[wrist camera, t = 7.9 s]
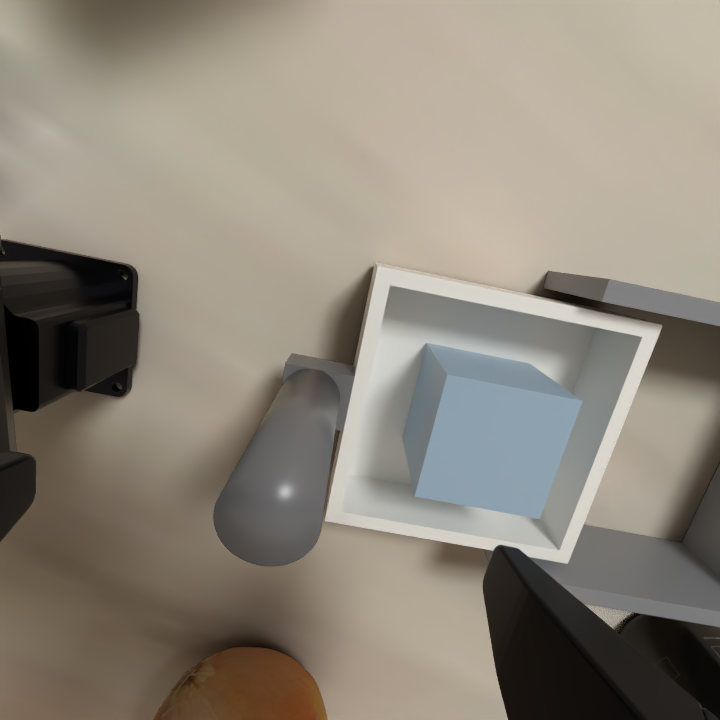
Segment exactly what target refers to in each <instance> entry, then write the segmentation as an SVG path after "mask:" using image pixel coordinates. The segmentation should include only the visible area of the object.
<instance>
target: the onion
mask: <svg viewBox="0 0 720 720" xmlns="http://www.w3.org/2000/svg"><path fill="white" fill-rule="evenodd" d="M153 720H328V719H327V715H326V710H325V706H324V703H323V699H322V696H321V693H320V691H319V688H318V686H317V684H316V682H315V680H314V679H313V677H312V676H311V675H310V673H309V672H307V671H306V670H305V669H304V668H303V667H302V666H301V665H300V664H299V663H298V662H297V661H296V660H294V659H293V658H291V657H289V656H287V655H285V654H283V653H280V652H278V651H276V650H272V649H267V648H259V647H234V648H230V649H227V650H224V651H221V652H218V653H216V654H213V655H211V656H209V657H207V658H206V659H204V660H202V661H201V662H200V663H198V664H197V665H196V666H194V667H193V668H191V669H190V670H189V671H187V672H186V673H185V674H184V675H183V676H182V678H181V679H180V680H179V682H178V683H177V684H176V686H175V687H174V688H173V689H172V690H171V692H170V693H169V695H168V696H167V698H166V700H165V701H164V703H163V704H162V706H161V707H160V709H159V711H158V713H157V714H156V716H155V718H154V719H153Z"/></svg>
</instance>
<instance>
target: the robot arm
mask: <svg viewBox="0 0 720 720" xmlns="http://www.w3.org/2000/svg"><path fill="white" fill-rule="evenodd" d="M2 247H3V248H4V249H5V255H3V253H2V252H1V251H2ZM123 270H124V271H126V272H127V274H128V278H127V280H125V279H124V278H123V277H122V271H123ZM137 283H138V274H137V271H136V269H135V268H134V267H133V266H131V265H129V264H125V263H120V262H115V261H110V260H105V259H100V258H95V257H91V256H86V255H81V254H76V253H71V252H66V251H61V250H56V249H51V248H46V247H41V246H36V245H31V244H26V243H21V242H16V241H11V240H4V239H1V236H0V542H1V540H2V539H3V538H4V537H5V536H6V534H7V533H8V532H9V531H10V530H11V529H12V527H13V526H14V525H15V524H16V523H17V521H18V520H19V519H20V518H21V517H22V516H23V514H24V513H25V512H26V511H27V510H28V508H29V507H30V506H31V504H32V502H33V500H34V498H35V493H36V460H35V458H34V457H33V456H32V455H29V454H24V453H19V452H17V447H16V436H15V425H14V414H13V413H15V412H18V411H20V410H24V411H29V412H34V411H37V410H39V409H41V408H43V407H45V406H46V405H48V404H50V403H52V402H54V401H56V400H58V399H60V398H62V397H64V396H66V395H68V394H70V393H72V392H74V391H78V392H81V391H89V392H95V393H100V394H105V395H111V396H116V397H120V396H123V395H125V394H126V393H128V392H129V391H130V389H131V383H132V366H133V364H134V363H136V360H137V344H138V328H139V313H138V312H137V310H136V300H137ZM116 382H118V383H120V384H121V386H122V389H119V388H118V387H117V386H116ZM483 594H484V600H485V607H486V613H487V619H488V625H489V632H490V638H491V644H492V650H493V657H494V662H495V668H496V673H497V677H498V682H499V686H500V690H501V694H502V698H503V701H504V705H505V709H506V713H507V717H508V720H719V719H718V718H717V717H716V716H714V715H713V714H712V713H711V712H710V711H709V710H707V709H706V708H702V707H701V704H700V703H699V702H698V701H697V700H696V699H694V698H693V697H692V696H691V695H690V694H689V693H687V692H686V691H685V690H684V689H683V688H681V687H680V686H679V685H678V684H677V683H676V682H674V681H673V680H672V679H671V678H670V677H669V676H667V675H666V674H665V673H664V672H663V671H662V670H660V669H659V668H658V667H657V666H656V665H655V664H653V663H652V662H651V661H650V660H649V659H647V658H646V657H645V656H644V655H643V654H642V653H640V652H639V651H638V650H637V649H636V648H635V647H633V646H632V645H631V644H630V643H629V642H628V641H626V640H625V639H624V638H623V637H622V636H621V635H619V634H618V633H617V632H616V631H615V630H613V629H612V628H611V627H610V626H609V625H608V624H606V623H605V622H604V621H603V620H602V619H601V618H599V617H598V616H597V615H596V614H595V613H594V612H592V611H591V610H590V609H589V608H588V607H587V606H585V605H584V604H583V603H582V602H581V601H579V600H578V599H577V598H576V597H575V596H574V595H572V594H571V593H570V592H569V591H568V590H567V589H565V588H564V587H563V586H562V585H561V584H560V583H558V582H557V581H556V580H555V579H554V578H553V577H551V576H550V575H549V574H548V573H547V572H546V571H544V570H543V569H542V568H541V567H540V566H539V565H537V564H536V563H535V562H534V561H533V560H531V559H530V558H529V557H528V556H527V555H526V554H524V553H523V552H522V551H521V550H520V549H518V548H516V547H510V546H505V545H498V546H496V547H495V548H494V550H493V553H492V556H491V559H490V561H489V564H488V567H487V570H486V573H485V575H484V579H483Z"/></svg>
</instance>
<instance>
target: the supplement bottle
mask: <svg viewBox="0 0 720 720" xmlns="http://www.w3.org/2000/svg"><path fill="white" fill-rule="evenodd" d="M619 635H621V636H622V637H623V638H624V639H625V640H626V641H628V642H629V643H630V644H631V645H632V646H633V647H635V648H636V649H637V650H638V651H639V652H640V653H642V654H643V655H644V656H645V657H646V658H647V659H649V660H650V661H651V662H652V663H653V664H655V665H656V666H657V667H658V668H659V669H660V670H662V671H663V672H664V673H665V674H666V675H667V676H669V677H670V678H671V679H672V680H673V681H674V682H676V683H677V684H678V685H679V686H680V687H681V688H683V689H684V690H685V691H686V692H687V693H689V694H690V695H691V696H692V697H693V698H694V699H696V700H697V701H698V702H699V703H700V704H701V707H702V708H706V709H707V710H709V711H710V712H711V713H712V714H713V715H714V716H716V717H717V718H718V719H719V720H720V627H716V626H710V625H704V624H699V623H693V622H687V621H681V620H675V619H669V618H664V617H658V616H652V615H646V614H638V615H637V616H635V617H634V618H633V619H631V620H630V621H629V622H628V623H627V624H626V625H625V626H624V627H623V628H622V630H621V631H620V633H619Z"/></svg>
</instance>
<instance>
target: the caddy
mask: <svg viewBox="0 0 720 720" xmlns="http://www.w3.org/2000/svg"><path fill="white" fill-rule="evenodd" d="M662 326H663V325H661V324H657V323H653V322H650V321H646V320H642V319H638V318H634V317H630V316H627V315H623V314H619V313H615V312H611V311H608V310H603V309H598V308H593V307H589V306H584V305H579V304H574V303H569V302H564V301H560V300H555V299H550V298H545V297H540V296H536V295H531V294H526V293H521V292H516V291H511V290H507V289H502V288H497V287H492V286H487V285H483V284H478V283H473V282H468V281H463V280H458V279H454V278H449V277H444V276H439V275H434V274H430V273H425V272H420V271H415V270H410V269H406V268H401V267H396V266H391V265H386V264H381V263H377V262H375V263H374V268H373V273H372V278H371V283H370V288H369V293H368V298H367V302H366V307H365V312H364V317H363V322H362V327H361V332H360V336H359V341H358V346H357V351H356V356H355V361H354V365H349V364H344V363H339V362H334V361H329V360H324V359H319V358H314V357H308V356H303V355H298V354H293V353H292V354H291V355H290V357H289V358H288V360H287V361H286V363H285V368H284V375H283V381H282V387H281V389H280V390H279V392H278V394H277V396H276V397H275V399H274V401H273V403H272V404H271V406H270V408H269V410H268V411H267V413H266V415H265V417H264V418H263V420H262V422H261V424H260V426H259V427H258V429H257V431H256V433H255V434H254V436H253V438H252V440H251V441H250V443H249V445H248V447H247V448H246V450H245V452H244V454H243V455H242V457H241V459H240V461H239V462H238V464H237V466H236V468H235V469H234V471H233V473H232V475H231V476H230V478H229V480H228V482H227V483H226V485H225V487H224V489H223V490H222V492H221V494H220V496H219V497H218V499H217V502H216V504H215V508H214V515H213V519H214V526H215V530H216V532H217V535H218V537H219V538H220V540H221V542H222V543H223V544H224V546H225V547H226V548H227V549H228V550H229V551H230V552H232V553H233V554H234V555H235V556H237V557H239V558H240V559H242V560H244V561H246V562H249V563H252V564H256V565H260V566H281V565H286V564H289V563H292V562H295V561H297V560H299V559H300V558H302V557H303V556H305V555H306V554H307V553H308V552H309V551H310V550H311V549H312V548H313V547H314V545H315V544H316V542H317V540H318V538H319V536H320V532H321V527H322V520H323V513H324V506H325V499H326V492H327V485H328V478H329V471H330V464H331V457H332V450H333V443H334V436H335V430H340V434H339V438H338V443H337V448H336V453H335V458H334V463H333V468H332V473H331V478H330V486H329V493H328V501H327V508H326V515H325V521H327V522H333V523H339V524H344V525H350V526H356V527H362V528H367V529H373V530H379V531H384V532H390V533H396V534H401V535H407V536H413V537H418V538H424V539H430V540H435V541H441V542H447V543H452V544H458V545H464V546H469V547H475V548H481V549H486V550H492V551H493V550H494V548H495V547H496V546H498V545H505V546H510V547H516V548H518V549H520V550H521V551H522V552H523V553H524V554H526V555H527V556H528V557H532V558H537V559H543V560H549V561H554V562H560V563H566V564H568V562H569V560H570V557H571V555H572V552H573V550H574V547H575V545H576V542H577V540H578V537H579V535H580V532H581V529H582V527H583V524H584V522H585V519H586V517H587V514H588V512H589V509H590V507H591V504H592V502H593V499H594V497H595V494H596V492H597V489H598V487H599V484H600V482H601V479H602V477H603V474H604V472H605V469H606V467H607V464H608V462H609V459H610V457H611V454H612V452H613V449H614V447H615V444H616V442H617V439H618V437H619V434H620V432H621V429H622V427H623V424H624V422H625V419H626V417H627V414H628V412H629V409H630V407H631V404H632V402H633V399H634V397H635V394H636V392H637V389H638V387H639V384H640V382H641V379H642V377H643V374H644V372H645V369H646V366H647V364H648V361H649V359H650V356H651V354H652V351H653V349H654V346H655V344H656V341H657V339H658V336H659V334H660V331H661V329H662ZM426 343H430V344H435V345H440V346H445V347H450V348H455V349H460V350H465V351H470V352H475V353H480V354H485V355H490V356H495V357H500V358H505V359H511V360H516V361H521V362H526V363H529V364H531V365H532V366H534V367H535V368H537V369H538V370H539V371H541V372H542V373H544V374H545V375H547V376H548V377H549V378H551V379H552V380H554V381H555V382H556V383H558V384H559V385H561V386H562V387H564V388H565V389H566V390H568V391H569V392H571V393H572V394H574V395H575V396H576V397H578V398H579V399H581V400H582V401H583V402H582V404H581V407H580V410H579V413H578V415H577V418H576V421H575V424H574V426H573V429H572V432H571V435H570V437H569V440H568V443H567V446H566V448H565V451H564V454H563V457H562V459H561V462H560V465H559V467H558V470H557V473H556V476H555V478H554V481H553V484H552V487H551V489H550V492H549V495H548V498H547V500H546V503H545V506H544V509H543V511H542V514H541V517H540V519H536V518H531V517H525V516H520V515H514V514H508V513H503V512H497V511H492V510H486V509H481V508H475V507H470V506H464V505H459V504H453V503H448V502H442V501H437V500H431V499H426V498H420V497H415V496H414V492H413V487H412V482H411V477H410V473H409V468H408V463H407V458H406V454H405V449H404V444H403V439H402V438H403V434H404V430H405V426H406V422H407V418H408V414H409V410H410V406H411V402H412V398H413V394H414V390H415V386H416V382H417V378H418V374H419V370H420V366H421V362H422V358H423V354H424V350H425V346H426Z"/></svg>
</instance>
